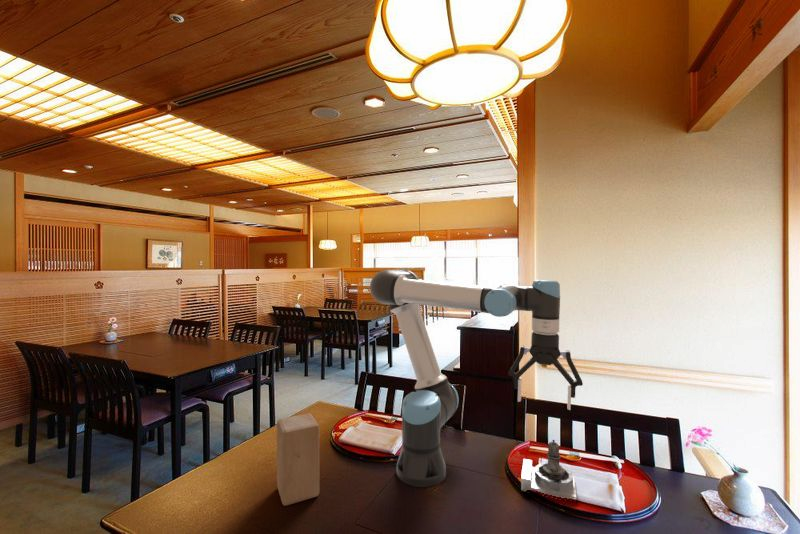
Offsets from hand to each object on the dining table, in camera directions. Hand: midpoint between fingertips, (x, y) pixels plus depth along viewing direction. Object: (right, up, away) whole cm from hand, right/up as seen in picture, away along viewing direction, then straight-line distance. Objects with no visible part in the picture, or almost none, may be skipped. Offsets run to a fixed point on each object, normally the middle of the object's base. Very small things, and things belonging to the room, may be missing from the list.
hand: (543, 404), depth 106 cm
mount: (0, -23, -2) cm, 23 cm away
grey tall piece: (+2, -21, -3) cm, 22 cm away
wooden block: (-71, -23, -5) cm, 75 cm away
